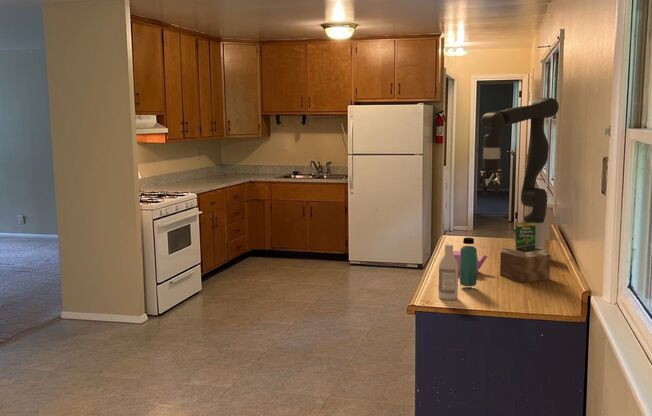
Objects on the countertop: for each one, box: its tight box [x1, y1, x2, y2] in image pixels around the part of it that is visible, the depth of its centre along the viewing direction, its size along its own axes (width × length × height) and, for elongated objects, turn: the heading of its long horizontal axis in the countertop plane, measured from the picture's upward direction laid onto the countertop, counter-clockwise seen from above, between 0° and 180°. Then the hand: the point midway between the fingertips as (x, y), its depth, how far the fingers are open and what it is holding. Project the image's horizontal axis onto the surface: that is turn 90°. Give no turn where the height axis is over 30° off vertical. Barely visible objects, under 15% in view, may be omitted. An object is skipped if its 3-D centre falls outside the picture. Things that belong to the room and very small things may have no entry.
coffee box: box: [514, 221, 536, 252], centre depth 264 cm, size 8×3×13 cm, turn 80°
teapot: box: [453, 250, 488, 276], centre depth 274 cm, size 18×10×10 cm, turn 80°
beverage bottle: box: [459, 236, 478, 287], centre depth 248 cm, size 6×7×20 cm
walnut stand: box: [499, 246, 552, 284], centre depth 265 cm, size 14×14×12 cm
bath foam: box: [438, 243, 459, 301], centre depth 234 cm, size 7×7×20 cm
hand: (490, 193), depth 288 cm, fingers open, 8 cm apart
